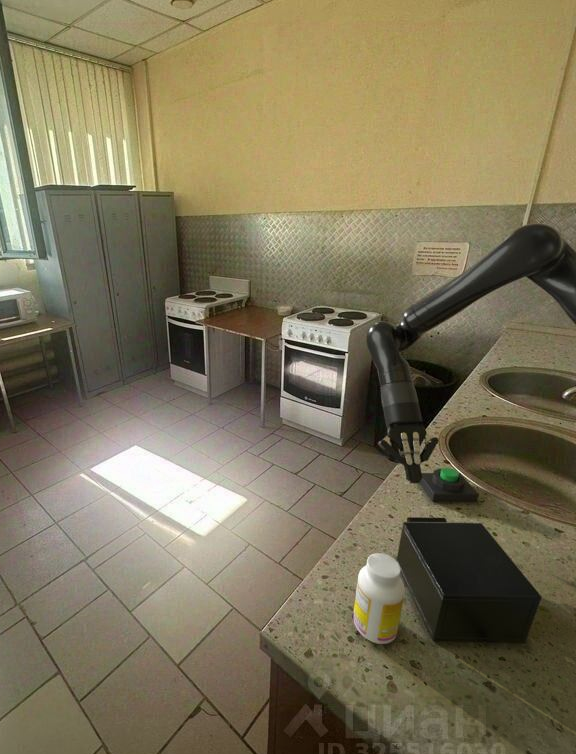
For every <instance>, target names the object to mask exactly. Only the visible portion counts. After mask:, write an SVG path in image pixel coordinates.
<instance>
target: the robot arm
mask: <svg viewBox="0 0 576 754" xmlns="http://www.w3.org/2000/svg"><path fill="white" fill-rule="evenodd" d="M523 278H527V279H528V280H529V281H531V282H533V283H534V284H536V286H538V287H539V288H541V289H542V290H544V292H545V293H547V294H548V295H550V296H551V297H552V299H554V300H555V302H557V304H558V305H559V306H560V307H561V308H562V310H563V311H564V313H565V314H566V316H568V318H569V319H570V321H571V322H572V323H573V324H574V325H575V326H576V250H575V249H574V248H573V247H572V246H571V244H570V243H568V242H567V240H566V239H565V238H564V237H563V235H562V234H561V233H560V231H559V230H558V229H556V228H555V227H553V226H551V225H549V224H547V223H546V224H545V223H539V222H535V223H533V222H532V223H527V224H524V225H522V226H519V227H517V228H515V229H513V230H512V231H511V232H510V233H508V235H506V236H505V238H504V239H503V240H502V241H501V242H500V243H499V244H497V245H496V246H495V247H494V248H493V249H491V251H490V252H488V253H487V254H486V255H484V256H483V258H481V259H479V261H477V262H476V263H474V264H473V265H472V266H471V267H469V268H468V269H466V270H465V271H463V272H462V273H460V274H458V275H457V276H455V277H454V278H452V279H451V280H449V281H447V282H446V283H444V284H442V285H441V286H439V287H437V288H435V289H434V290H433V291H431V292H429V293H428V294H426V295H425V296H423V297H422V298H420V299H418V300H417V301H415V302H414V303H412V304H410V305H409V306H408V307H407V308H405V310H404V311H403V312H402V320H401V321H399V322H398V323H396V324H394V323H391V322H388V321H386V320H378V321H375V322H373V323H372V324H371V325H370V326H369V328H368V329H367V332H366V337H365V339H366V346H367V349H368V352H369V354H370V357H371V359H372V361H373V365H374V366H375V368H376V370H377V374H378V375H377V376H378V380H379V381H378V382H379V386H380V399H381V406H382V410H383V415H384V421H385V426H386V431H385V437H383V439H381V440H379V441H378V442H377V446H378V447H379V448H380V449H381V450H382V451H383V452H384V453H385V454H386V455H387V456H388V457H389V458H390V459H391V460H392V461H393V462H394V463H395V464H400V465H402V466H403V467H404V472H405V478H406V480H407V481H409V483H410V484H420V482H421V481H420V480H422V473H423V472H422V469H421V464H422V463H424V462H428V461H429V459H430V457H431V456H432V454H433V452H434V450H435V448H436V447H437V445H438V444H439V438H438V437H436V436H434V437H433V436H432V435H430V434H428V433H427V432H428V431H427V430H426V428H425V427H424V424H423V418H422V412H421V407H420V403H419V399H418V393H417V391H416V387H415V384H414V381H413V375H412V371H411V366H410V364H409V362H408V361H407V360H406V359H405V358H403V356H402V355H401V354H400V353H402V352H404V351H406V350H408V349H409V348H410V347H412V346H413V345H414V344H416V342H417V341H418V340H420V339H421V338H422V337H423V336H424V335H425V334H426V333H427V332H429V331H431V330H433V329H435V328H437V327H439V326H440V325H442V324H443V323H445V322H447V321H448V320H450V319H452V318H453V317H455V316H457V315H458V314H459V313H461V312H463V311H464V310H465V309H467V308H468V307H470V306H471V305H472V304H474V303H476V302H478V301H479V300H480V299H482V298H483V297H485V296H487V295H489V294H490V293H493V292H495V291H496V290H498V289H500V288H502V287H504V286H507V285H509V284H511V283H513V282H516V281H518V280H521V279H523ZM423 443H424V447H423V449H421V446H422V444H423ZM392 445H393V446H394V447H395V448H397V450H398V451H396V450H395V448H394V447H393V446H392Z"/></svg>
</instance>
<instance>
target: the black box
mask: <svg viewBox="0 0 576 754" xmlns="http://www.w3.org/2000/svg"><path fill="white" fill-rule="evenodd" d="M402 526H403V527H401V532H402V533H401V532H400V537H401V538H399V543H400V544H398V549H399V550H398V549H397V554H398V555H397V556H396V561H397V562H398V564H399V566H400V569H401V573H400V576H401V578H402V580H403V582H404V583H405V585H406V587H407V589H408V591H409V594H410V596H411V598H412V600H413V602H414V605H415V606H416V609H417V611H418V613H419V615H420V617H421V619H422V621H423V623H424V625H425V627H426V630H427V632H428V634H429V636H430V638H431V640H432V642H446V643H447V642H449V643H451V642H452V643H491V644H492V643H493V644H497V643H498V644H526V641H527V638H528V636H529V633H530V630H531V628H532V625H533V621H534V619H535V616H536V614H537V612H538V608H539V605H540V602H541V600H542V595H541V594H540V593H539V591H538V590H537V588H535V586H534V585H533V584H532V583H531V582H530V581H529V580H528V578H527V577H526V575H524V573H523V572H522V571H521V569H519V567H518V566H517V564H515V562H514V561H513V560H512V558H511V557H510V556H509V555H508V554H507V553H506V551H505V550H504V549H503V548H502V546H501V545H500V544H499V543H498V541H497V540H496V539H495V538H494V536H493V535H492V534H491V533H490V532H489V531H488V529H487V528H486V527H485V526H484V524H483V523H481V522H473V523H403V522H402Z"/></svg>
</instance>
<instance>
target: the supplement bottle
mask: <svg viewBox="0 0 576 754" xmlns="http://www.w3.org/2000/svg"><path fill="white" fill-rule="evenodd" d="M356 583H357V584H356V592H355V598H354V599H355V600H354V608H353V623H354V626H355V627H356V629H357V631H358V632H359V634H360V635H361V636H362V637H364V638H365V639H366V640H368V641H369V642H372V643H375V644H378V645H379V644H380V645H386V644H389V643H391V642H393V641H394V640H395V639H396V637H397V636H398V632H399V626H400V620H401V615H402V609H403V605H404V598H405V591H406V588H405V584H404V583H405V582H404V580H403V578H402V576H401V569H400V566H399V564H398V562H397V559H395V558H393V557H392V556H390V555H388V554H386V553H381V552H375V553H372V554H370V555H369V556H368V558H367V561H366V564H365V565H364V566H363V567H362V568H361V569H360V571H359V572H358V576H357V582H356Z"/></svg>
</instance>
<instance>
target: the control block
mask: <svg viewBox="0 0 576 754" xmlns="http://www.w3.org/2000/svg"><path fill="white" fill-rule="evenodd" d="M441 469H442V468H437V469H435V470H433V472H421V473H422V480H420V481H421V482H420V483H419V485H420V486H421V487H422V489H423V490H424V492H425V493H426V494H427V496H428V498H429V499H430V500H431V502H433V503H434V502H435V503H436V502H437V503H442V502H443V503H447V502H448V503H477V502H478V500H479V497H480V493H479V492H478V491H477V490H476V489H475V488H474V487H473V485H471V483H470V482H469V481H468V480H467V479H466V478H465V476H463V475H462V474H461V472H458V473H459V476H458V480H457V482H449V481H445V480H443V479H442V478H440V473H441Z"/></svg>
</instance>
